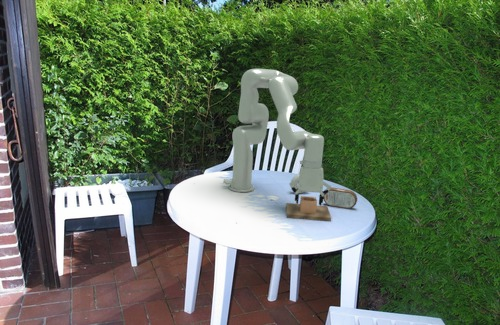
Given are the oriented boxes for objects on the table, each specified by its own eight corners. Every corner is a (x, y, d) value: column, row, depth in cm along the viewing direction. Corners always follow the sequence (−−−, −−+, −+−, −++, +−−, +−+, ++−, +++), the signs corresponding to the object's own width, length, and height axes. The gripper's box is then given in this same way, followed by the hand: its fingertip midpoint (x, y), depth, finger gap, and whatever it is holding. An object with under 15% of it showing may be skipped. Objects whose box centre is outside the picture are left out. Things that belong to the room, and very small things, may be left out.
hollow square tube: (300, 212, 163) (301, 200, 162) (299, 207, 169) (300, 196, 168) (315, 213, 163) (317, 202, 161) (314, 208, 169) (315, 197, 168)
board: (286, 217, 160) (287, 214, 160) (286, 206, 173) (286, 203, 173) (330, 221, 159) (331, 217, 158) (326, 209, 172) (327, 206, 172)
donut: (307, 191, 196) (309, 172, 194) (310, 194, 193) (312, 174, 191) (288, 192, 194) (290, 172, 192) (291, 194, 191) (292, 174, 188)
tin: (356, 208, 176) (358, 190, 174) (355, 210, 173) (357, 192, 171) (322, 203, 181) (324, 185, 179) (321, 205, 178) (323, 187, 176)
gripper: (291, 164, 158) (288, 204, 162) (334, 168, 157) (330, 208, 161) (291, 160, 165) (287, 199, 169) (332, 163, 164) (328, 202, 168)
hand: (308, 203), depth 165 cm, fingers open, 9 cm apart
